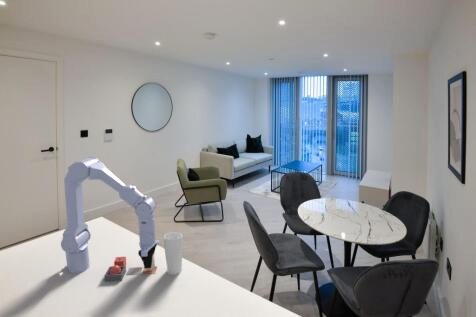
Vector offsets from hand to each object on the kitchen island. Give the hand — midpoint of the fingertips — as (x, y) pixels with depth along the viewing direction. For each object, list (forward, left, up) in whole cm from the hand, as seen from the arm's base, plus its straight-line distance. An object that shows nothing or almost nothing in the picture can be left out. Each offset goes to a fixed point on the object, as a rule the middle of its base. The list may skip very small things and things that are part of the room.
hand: (149, 264), depth 112 cm
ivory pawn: (0, 0, -1) cm, 1 cm away
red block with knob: (-10, -7, -2) cm, 12 cm away
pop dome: (-5, -11, -2) cm, 12 cm away
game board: (-4, -5, -3) cm, 7 cm away
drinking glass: (+6, +7, -3) cm, 10 cm away
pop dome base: (-5, -11, -2) cm, 12 cm away
